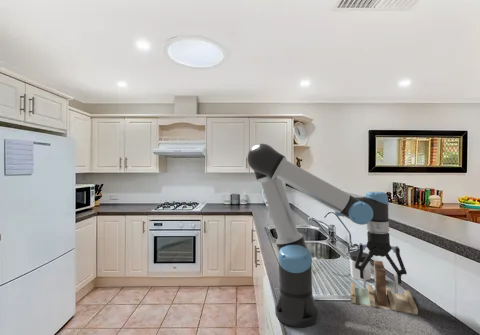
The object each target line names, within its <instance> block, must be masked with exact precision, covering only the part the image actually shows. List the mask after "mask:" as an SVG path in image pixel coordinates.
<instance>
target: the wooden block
mask: <svg viewBox="0 0 480 335" xmlns="http://www.w3.org/2000/svg"><path fill="white" fill-rule="evenodd" d="M373 271H374V272H373V274H374V275H373V276H374V290H375V295H376V300H377V305H383V306H387V302H386V287H387V286H386V285H387V281H386V280H387V279H386V268H385V266H384V262H383V261H382V260H373Z"/></svg>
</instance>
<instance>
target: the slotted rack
mask: <svg viewBox="0 0 480 335" xmlns="http://www.w3.org/2000/svg"><path fill="white" fill-rule="evenodd" d="M373 288H374V287H373V285H372V284H367V288H362V287H361V288H360V287H356V283H355V282H352V281H351V282H350V303H351V304H357V305H361V306H366V307H367V306H368V307H373V308H379V309H385V310H389V311H397V312H402V313H408V314H413V315H418V312H419V311H418V307H417V304H416V302H415V300H414V297H413V296H412V294H411V292H410V290H408V289H404V294H401V293H396V292H395V293H394V292H392V290H391V287H387V286H386V302H387V306H383V305H377V300H376V295H375V289H373Z"/></svg>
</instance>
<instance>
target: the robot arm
mask: <svg viewBox="0 0 480 335" xmlns="http://www.w3.org/2000/svg"><path fill="white" fill-rule="evenodd" d="M247 163H248V166H249V167H250V168H251V169H252V170H253V172H254V176H255V179H256V181H257V182H259V183H261V186H262V189H263V193H264V195H265V196H264V197H265V199H266V203H267V206H268V209H269V212H270V214H271V219H272V222H273V225H274V229H275V231H276V236H277V239H276V241H275V243H276V244H275V245H276V248H277V251H278V255H277V260H278V276H279V278H278V282H279V285H278V286H279V293H278V295H277V300H276V303H275V307H274V308H275V310H274V311H275V312H274V313H275V316H276V319H277V320H278V321H280V322H281V323H282V324H285V325H287V326H290V327H295V328H306V327H311V326H313V325H315V324H317V322H318V320H319V310H318V306H317V303H316V301H315V297H314V294H313V275H312V274H313V272H312V271H313V270H312V264H313V259H312V253H311V251H310V250H309V249H308V246H307V244H306V242H305V239H304V235H303V234H302V233H301V232H299V231H298V228H297V225H296V223H295V220H294V216H293V212H292V209H291V205H290V203H289V199H288V196H287V192H286V190H285V186H284V184H283V183H285V184H286V185H289V186H290V187H292V188H294V189H295V190H297V191H299V192H301V193H302V194H304V195H306V196H308V197H309V198H312V199H313V200H315V201H317V202H318V203H320V204H323V205H324V206H326V207H328V208H329V209H331V210H333V211H334V213H335V216H337V217H345V218H347V219H349V220H350V221H351V222H352V223H355V225H356V224H357V225H360V226H363V225H366V231H367V234H366V235H367V243H361V242H359V244H358V245H359V246H358V248H359V249H358V250H359V251H358V252H359V253H358V256H357V259H356V263H355V268H356V269H359V270H360V278H361V279H363V289H367V280H366V273H365V269H364V268H365V267H366V265H367V264H368V262H369V261H370V262H371V259H372V258H373V257H383V258H384V257H385V258H386V259H387V261H388V262H389V264H390V265H391V267H392V268H393V269H394V271H395V272H394V273H393V274H394V275H393V276H394V292H395V294H399V284H400V285H401V284H402V276H403V275H407V274H408V273H407V269H406V268H405V265H404V261H403V259H402V257H401V252H400V250H401V249H400V247H399V246H398V245H397V246H392V245H391V243H390V240H391V239H390V233H389V232H390V222H389V205H390V204H389V198H388V194H387V193H386V192H383V191H367V192H366V193H365V196H361V197H358V196H355V197H354V196H353V195H351V194H349V193H347V192H346V191H344V190H341V189H340V188H338V187H337V186H334V185H332V184H331V183H329V182H327V181H325V180H324V179H323V178H320V177H318V176H316V175H314V174H313V173H311V172H309V171H307V170H305V169H303V168H301V167H299V166H298V165H296V164H294V163H292V162H290V161H289V160H288V159H287V157H286V156H285V155H283V154H282V153H280V152H279V151H277V150H276V149H274V148H273V147H272V146H271V145H269V144H267V143H258V144H255V145H254V146H252V147H251V148H250V149H249V151H248V154H247ZM366 248H367V249H368V252H367V254H368V255H367V256H366V258H365V260H364V261H363V263H362V264H361V266H360V265H359V264H360V260H361V257H362V254H363V252H364V251H365V250H366ZM391 251H393V253H395V257H396V258H397V262H398V264H399V267H400V269H399V267H398V266H397V265H396V263H395V262H394V260H393V259H392V257H391V256H390V254H389V253H390V252H391Z"/></svg>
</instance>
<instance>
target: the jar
mask: <svg viewBox="0 0 480 335" xmlns="http://www.w3.org/2000/svg"><path fill="white" fill-rule="evenodd" d="M358 253H359V251H351V252H350V257H349V264H350V266H349V267H350V276H351V277H352V279H356V280H359V281H363V279H361V278H360V270H359V269H356V268H355V263H356V259H357V256H358ZM367 255H368V252H364V251H363V254H362V257H361V260H360V264H359V265H360V266H361V264H362V263H363V261H364V260H365V258H366V256H367ZM364 269H365V273H366V281H370V280H371V279H372V277H371V276H372V271H371V260H370V261H369V262H368V264H367V265H366V267H365V268H364ZM363 282H364V281H363Z"/></svg>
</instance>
